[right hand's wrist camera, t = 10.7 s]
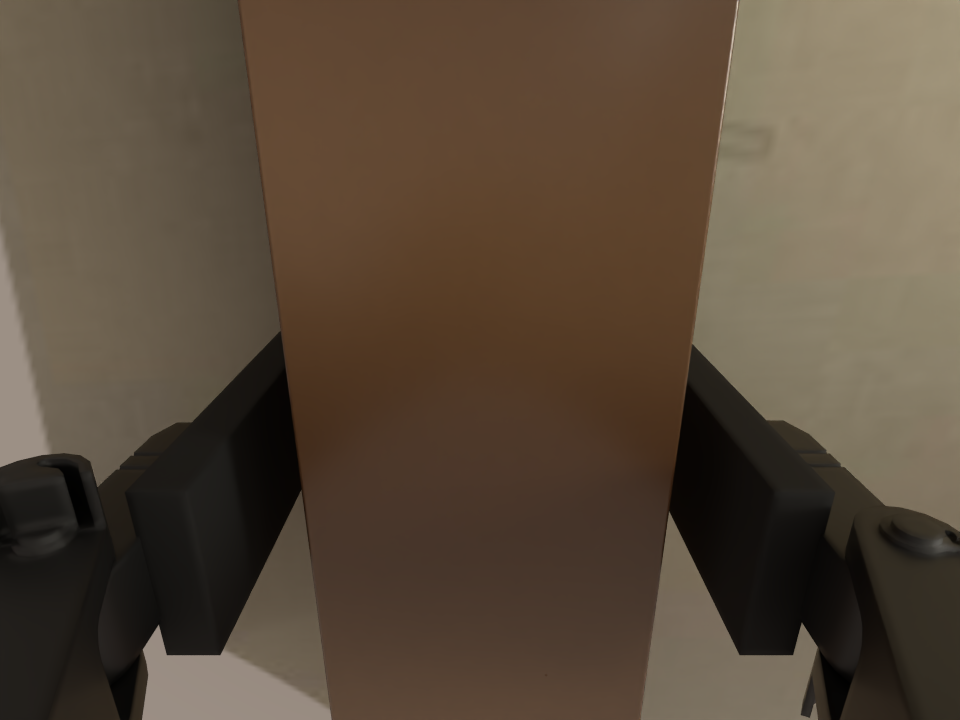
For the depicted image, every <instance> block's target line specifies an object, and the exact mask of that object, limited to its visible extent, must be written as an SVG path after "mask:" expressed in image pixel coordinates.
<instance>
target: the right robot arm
mask: <svg viewBox="0 0 960 720" xmlns="http://www.w3.org/2000/svg"><path fill="white" fill-rule="evenodd" d="M840 465H841V464H840V463H839V462H838V461H837V460H836V459H835V458H834V457H833V456H832V455H831V454H827V453H826V450H825V449H824V448H823V447H822V446H821V445H820V444H819V443H818V442H817V441H816V440H815V439H814V438H813V437H812V436H810V435H809V434H808V433H806V432H804V431H802V430H800V429H798V428H796V427H794V426H793V425H791V424H789V423H787V422H785V421H766V420H765V419H764V418H763V417H762V416H761V415H760V414H759V413H758V412H757V411H756V410H755V409H754V407H753V406H752V405H751V404H750V403H749V402H748V401H747V400H746V399H745V398H744V397H743V396H742V395H741V394H740V393H739V392H738V391H737V390H736V389H735V388H734V387H733V386H732V385H731V384H730V383H729V382H728V381H727V380H726V379H725V377H724V376H723V375H722V374H721V373H720V372H719V371H718V370H717V369H716V368H715V367H714V366H713V365H712V364H711V363H710V362H709V361H708V360H707V359H706V358H705V357H704V356H703V355H702V354H701V353H700V352H699V351H698V350H697V349H696V347H695V346H694V345H693V344H692V348H691V356H690V363H689V370H688V377H687V384H686V392H685V399H684V406H683V413H682V421H681V428H680V435H679V442H678V450H677V457H676V464H675V471H674V478H673V486H672V493H671V500H670V507H669V512H670V514H671V516H672V518H673V520H674V522H675V524H676V526H677V528H678V530H679V532H680V534H681V536H682V538H683V540H684V542H685V544H686V546H687V548H688V551H689V553H690V555H691V557H692V559H693V561H694V563H695V565H696V567H697V569H698V571H699V573H700V575H701V577H702V579H703V581H704V583H705V585H706V587H707V589H708V591H709V593H710V595H711V598H712V600H713V602H714V604H715V606H716V608H717V610H718V612H719V614H720V616H721V618H722V620H723V622H724V624H725V626H726V628H727V630H728V632H729V634H730V636H731V638H732V640H733V642H734V645H735V647H736V649H737V651H738V653H739V655H793V653H794V650H795V646H796V642H797V638H798V634H799V630H800V627H801V623H803V625H804V626H805V628H806V629H807V631H808V632H809V634H810V636H811V637H812V639H813V640H814V642H815V643H816V645H817V646H818V649H817V653H816V656H815V660H814V664H813V667H812V671H811V674H810V678H809V682H808V685H807V689H806V692H805V696H804V699H803V704H802V710H801V715H803V716H806V717H809V718H810V715H811V712H812V708H813V705H814V704H815V703H816V706H817V713H818V720H960V532H959V531H957V530H956V529H954V528H953V527H951V526H950V525H948V524H946V523H944V522H942V521H939V520H937V519H935V518H933V517H930V516H928V515H926V514H923V513H919V512H915V511H912V510H908V509H904V508H900V507H889V506H885V505H884V504H883V503H882V502H881V501H880V500H878V499H877V498H876V497H875V496H874V495H873V494H872V493H871V492H870V491H869V490H868V489H867V488H866V487H865V486H864V485H863V484H861V483H860V482H859V481H858V480H857V479H856V478H855V477H854V476H853V475H852V474H851V473H850V472H849V471H848V470H847V469H846V468H844V467H841V466H840ZM301 489H302V488H301V481H300V473H299V465H298V458H297V450H296V443H295V435H294V427H293V420H292V412H291V404H290V397H289V389H288V381H287V374H286V366H285V359H284V351H283V343H282V336H281V331H280V332H279V333H278V334H277V335H276V336H275V337H274V338H273V339H272V340H271V341H270V342H269V343H268V344H267V345H266V346H265V347H264V349H263V350H262V351H261V352H260V353H259V354H258V355H257V356H256V357H255V358H254V359H253V360H252V361H251V362H250V363H249V364H248V365H247V366H246V367H245V368H244V369H243V370H242V371H241V372H240V373H239V374H238V375H237V376H236V377H235V379H234V380H233V381H232V382H231V383H230V384H229V385H228V386H227V387H226V388H225V389H224V390H223V391H222V392H221V393H220V394H219V395H218V396H217V397H216V398H215V399H214V400H213V401H212V402H211V403H210V404H209V405H208V406H207V407H206V409H205V410H204V411H203V412H202V413H201V414H200V415H199V416H198V417H197V418H196V419H195V420H194V421H193V422H192V423H176V424H174V425H172V426H170V427H168V428H166V429H164V430H162V431H161V432H159V433H157V434H155V435H153V436H151V437H150V438H149V439H148V440H147V441H146V442H145V443H144V444H143V445H142V446H141V447H140V448H139V449H138V450H136V451H135V452H134V456H130V457H129V458H128V459H127V460H126V461H125V462H124V463H123V464H122V465H121V466H120V470H115V471H114V472H113V473H112V474H111V475H110V476H109V477H108V478H107V479H106V480H105V481H104V482H103V483H102V484H101V485H100V486H99V487H97V484H96V481H95V477H94V474H93V470H92V466H91V463H90V461H89V460H87V459H85V458H84V457H82V456H80V455H73V454H65V453H63V454H51V455H41V456H37V457H33V458H28V459H24V460H20V461H16V462H14V463H11V464H8V465H6V466H3V467H0V720H142V715H143V708H144V701H145V694H146V687H147V680H148V671H147V664H146V660H145V656H144V653H143V648H144V647H145V645H146V643H147V642H148V640H149V639H150V637H151V636H152V634H153V633H154V631H155V629H156V628H157V626H158V625H159V627H160V630H161V634H162V638H163V642H164V646H165V649H166V653H167V655H221V653H222V651H223V649H224V647H225V645H226V643H227V640H228V638H229V636H230V634H231V632H232V630H233V628H234V626H235V624H236V622H237V620H238V618H239V616H240V614H241V612H242V610H243V608H244V606H245V604H246V602H247V600H248V598H249V596H250V593H251V591H252V589H253V587H254V585H255V583H256V581H257V579H258V577H259V575H260V573H261V571H262V569H263V567H264V565H265V563H266V561H267V559H268V557H269V555H270V553H271V551H272V549H273V546H274V544H275V542H276V540H277V538H278V536H279V534H280V532H281V530H282V528H283V526H284V524H285V522H286V520H287V518H288V516H289V514H290V512H291V510H292V508H293V506H294V504H295V502H296V499H297V497H298V495H299V493H300V491H301Z"/></svg>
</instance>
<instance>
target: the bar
mask: <svg viewBox="0 0 960 720" xmlns="http://www.w3.org/2000/svg"><path fill="white" fill-rule="evenodd" d="M739 1H740V0H238V7H239V15H240V23H241V30H242V38H243V45H244V53H245V61H246V68H247V76H248V84H249V91H250V99H251V107H252V114H253V122H254V129H255V137H256V145H257V152H258V160H259V168H260V175H261V183H262V191H263V198H264V206H265V213H266V221H267V229H268V236H269V244H270V252H271V259H272V267H273V275H274V282H275V290H276V297H277V305H278V313H279V320H280V328H281V336H282V343H283V351H284V359H285V366H286V374H287V381H288V389H289V397H290V404H291V412H292V420H293V427H294V435H295V443H296V450H297V458H298V465H299V473H300V481H301V488H302V496H303V504H304V511H305V519H306V527H307V534H308V542H309V549H310V557H311V565H312V572H313V580H314V588H315V595H316V603H317V611H318V618H319V626H320V633H321V641H322V649H323V656H324V664H325V672H326V679H327V687H328V695H329V702H330V710H331V717H332V720H640V717H641V710H642V703H643V695H644V688H645V681H646V674H647V666H648V659H649V652H650V645H651V638H652V630H653V623H654V616H655V609H656V601H657V594H658V587H659V580H660V572H661V565H662V558H663V551H664V544H665V536H666V529H667V522H668V515H669V507H670V500H671V493H672V486H673V478H674V471H675V464H676V457H677V450H678V442H679V435H680V428H681V421H682V413H683V406H684V399H685V392H686V384H687V377H688V370H689V363H690V356H691V348H692V341H693V334H694V327H695V319H696V312H697V305H698V298H699V290H700V283H701V276H702V269H703V262H704V254H705V247H706V240H707V233H708V225H709V218H710V211H711V204H712V196H713V189H714V182H715V175H716V167H717V160H718V153H719V146H720V139H721V131H722V124H723V117H724V110H725V102H726V95H727V88H728V81H729V73H730V66H731V59H732V52H733V45H734V37H735V30H736V23H737V16H738V8H739Z"/></svg>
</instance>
